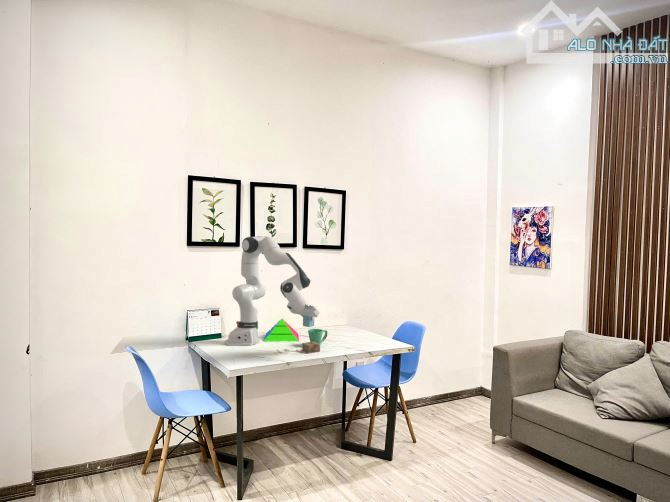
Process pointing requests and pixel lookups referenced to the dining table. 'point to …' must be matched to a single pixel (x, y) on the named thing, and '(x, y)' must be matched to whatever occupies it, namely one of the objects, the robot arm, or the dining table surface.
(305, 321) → the teal brick
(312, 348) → the base block
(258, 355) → the dining table surface
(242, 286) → the robot arm
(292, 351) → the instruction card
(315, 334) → the mug
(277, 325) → the pyramid toy
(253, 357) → the dining table surface
